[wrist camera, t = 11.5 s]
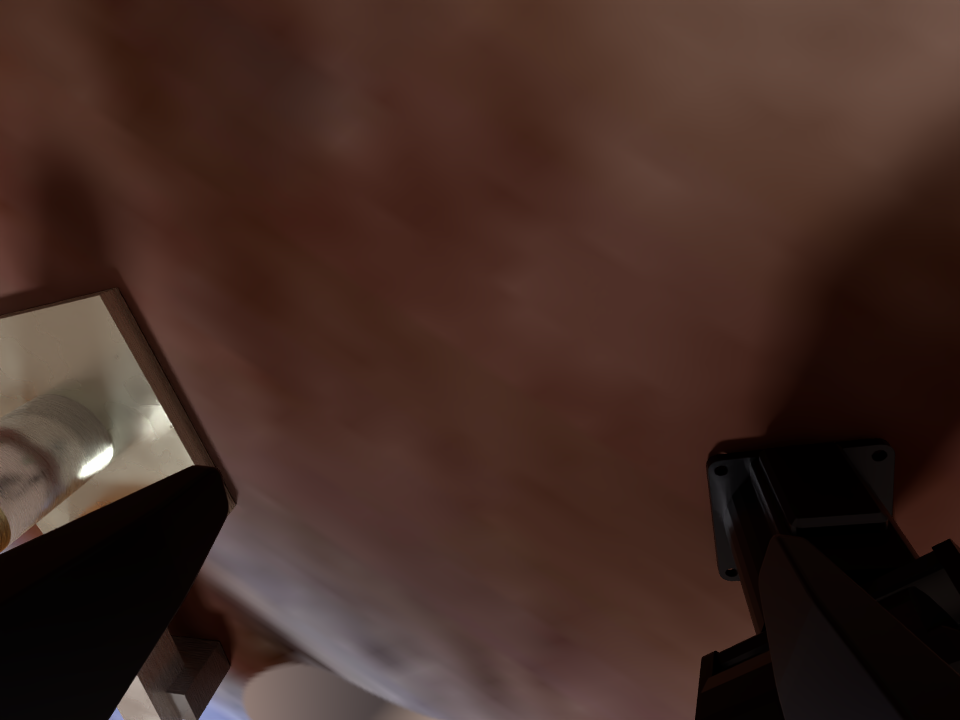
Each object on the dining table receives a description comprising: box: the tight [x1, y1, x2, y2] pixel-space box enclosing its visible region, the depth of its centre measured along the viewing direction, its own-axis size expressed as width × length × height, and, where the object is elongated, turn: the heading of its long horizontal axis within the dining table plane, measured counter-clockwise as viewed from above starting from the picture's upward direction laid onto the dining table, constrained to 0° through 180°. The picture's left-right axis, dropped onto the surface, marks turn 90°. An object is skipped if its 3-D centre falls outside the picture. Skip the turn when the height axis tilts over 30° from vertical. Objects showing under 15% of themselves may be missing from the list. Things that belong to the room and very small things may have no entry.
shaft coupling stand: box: [0, 288, 236, 720], centre depth 30 cm, size 24×24×5 cm
